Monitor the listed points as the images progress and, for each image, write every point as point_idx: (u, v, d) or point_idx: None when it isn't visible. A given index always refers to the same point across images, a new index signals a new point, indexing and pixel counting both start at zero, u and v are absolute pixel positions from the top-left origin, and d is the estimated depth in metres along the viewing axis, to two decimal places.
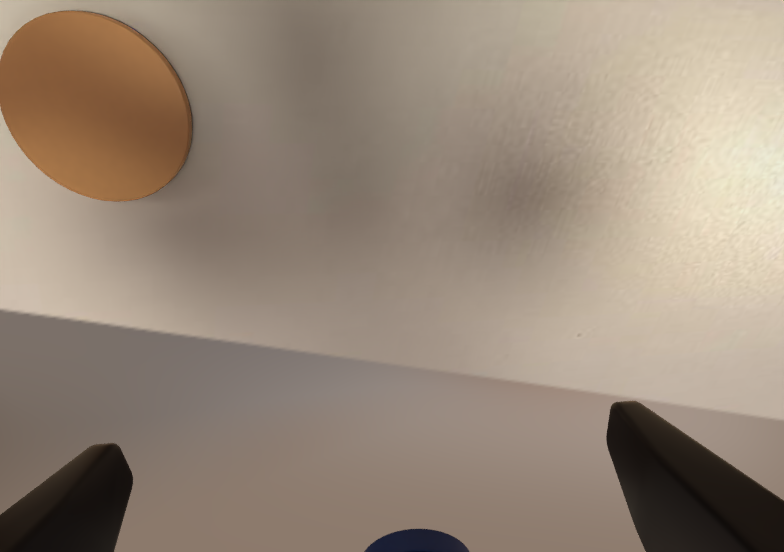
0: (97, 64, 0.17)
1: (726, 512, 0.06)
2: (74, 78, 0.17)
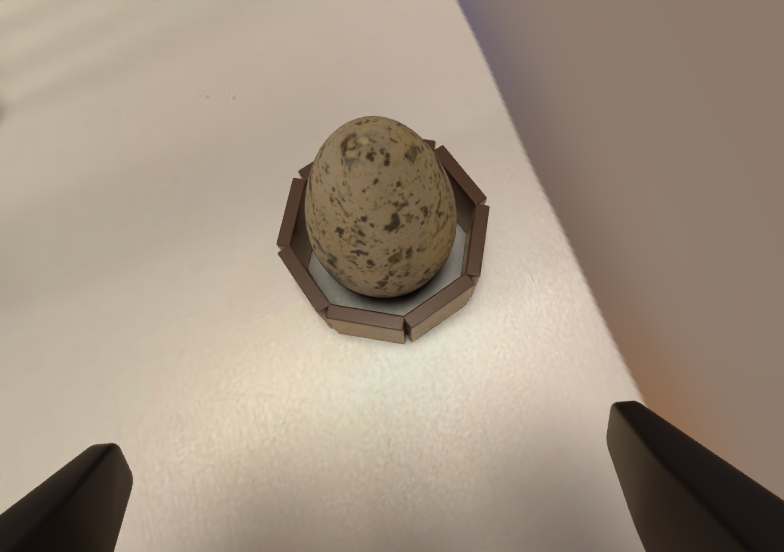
0: None
1: (726, 512, 0.06)
2: None
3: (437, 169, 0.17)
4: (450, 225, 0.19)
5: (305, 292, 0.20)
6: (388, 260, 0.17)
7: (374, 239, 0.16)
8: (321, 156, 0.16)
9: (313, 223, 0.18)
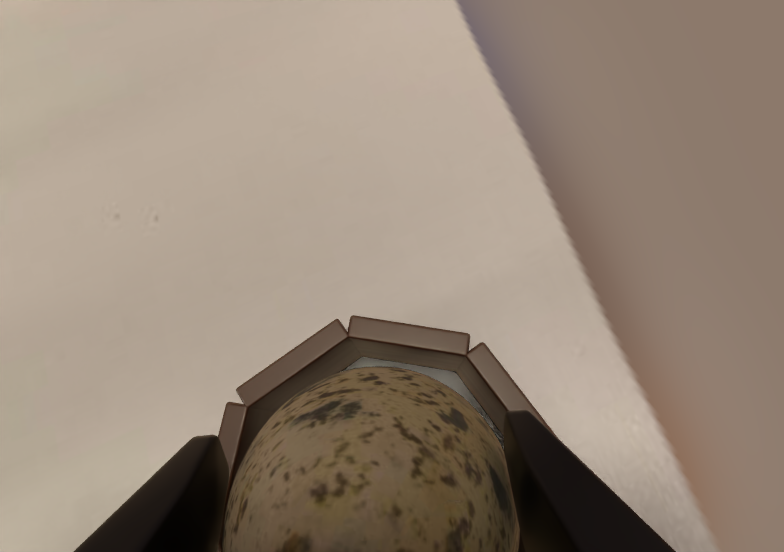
0: None
1: (575, 524, 0.06)
2: None
3: (499, 521, 0.08)
4: None
5: None
6: None
7: None
8: (237, 534, 0.07)
9: None
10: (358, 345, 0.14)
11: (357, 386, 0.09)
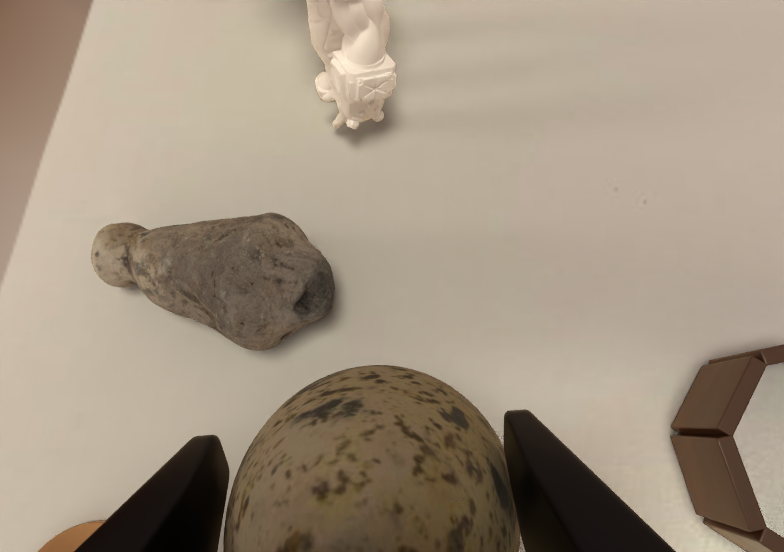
0: None
1: (575, 524, 0.06)
2: None
3: (500, 519, 0.08)
4: None
5: (740, 500, 0.18)
6: None
7: None
8: (238, 532, 0.07)
9: None
10: None
11: (358, 384, 0.09)
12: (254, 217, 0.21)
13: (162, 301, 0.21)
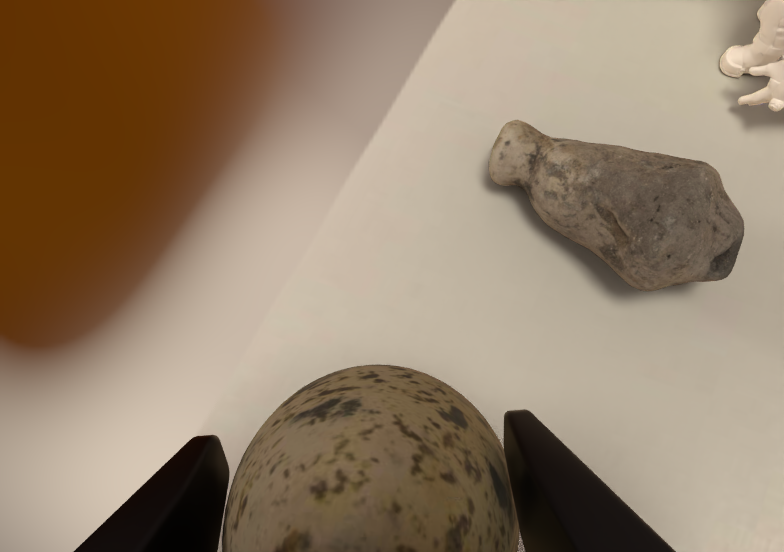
0: None
1: (575, 524, 0.06)
2: None
3: (499, 519, 0.08)
4: None
5: None
6: None
7: None
8: (236, 531, 0.07)
9: None
10: None
11: (357, 384, 0.09)
12: (691, 160, 0.20)
13: (562, 208, 0.21)
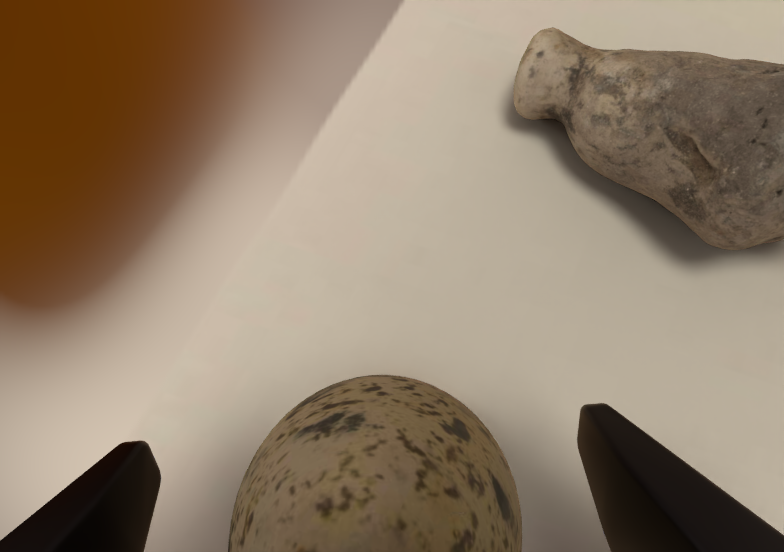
0: None
1: (683, 515, 0.06)
2: None
3: (502, 531, 0.08)
4: None
5: None
6: None
7: None
8: (243, 547, 0.07)
9: None
10: None
11: (360, 397, 0.09)
12: None
13: (616, 137, 0.16)
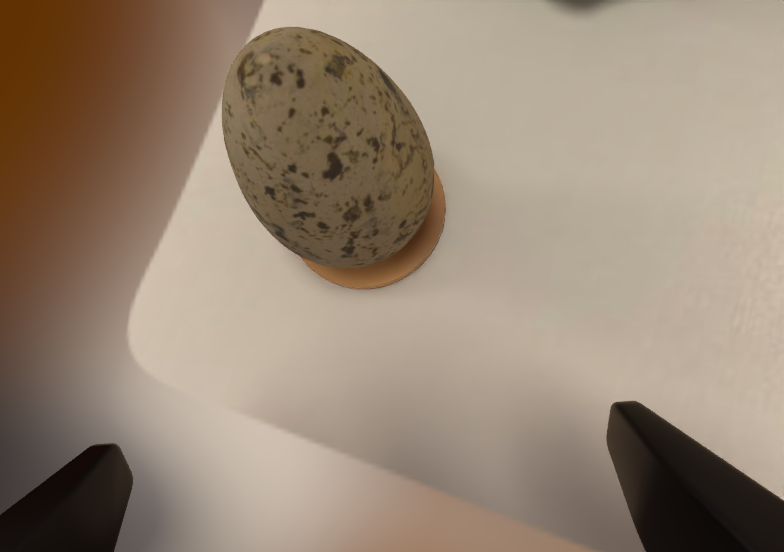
0: None
1: (726, 512, 0.06)
2: None
3: (382, 85, 0.13)
4: (420, 159, 0.14)
5: None
6: (344, 218, 0.13)
7: (316, 194, 0.12)
8: (223, 96, 0.12)
9: (243, 189, 0.14)
10: None
11: None
12: None
13: None
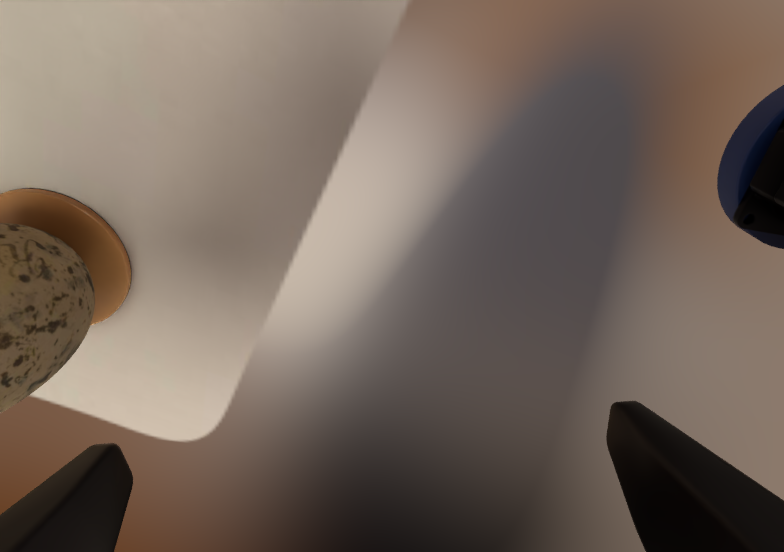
0: None
1: (726, 512, 0.06)
2: None
3: None
4: None
5: None
6: (7, 347, 0.16)
7: None
8: None
9: None
10: None
11: None
12: None
13: None
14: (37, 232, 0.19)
